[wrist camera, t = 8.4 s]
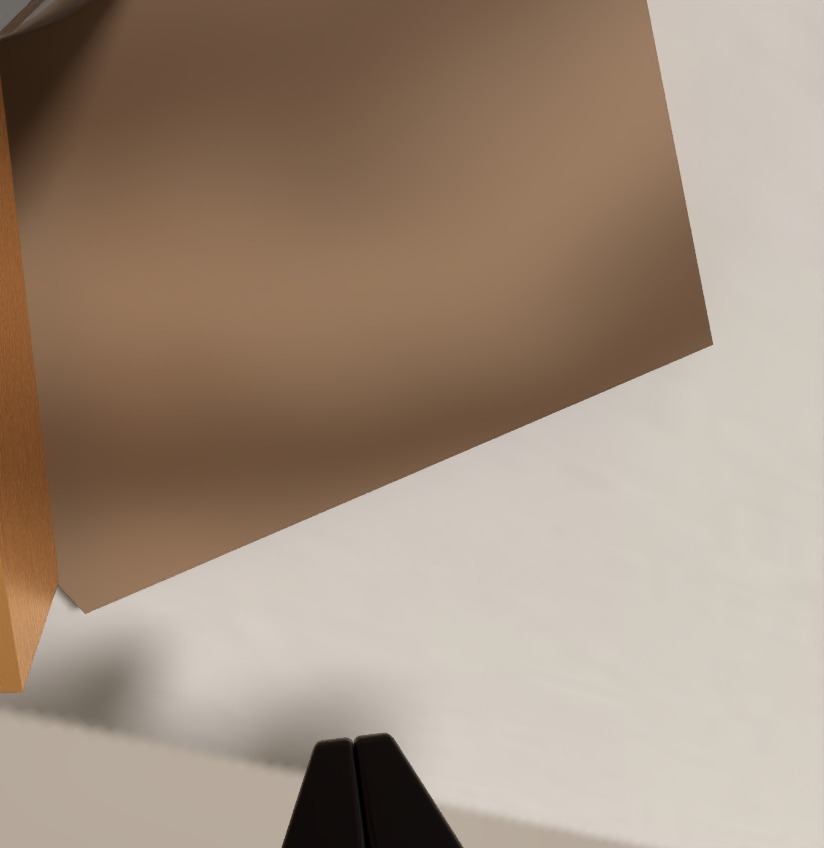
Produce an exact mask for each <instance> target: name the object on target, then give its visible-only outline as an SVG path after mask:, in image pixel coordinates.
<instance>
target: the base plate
mask: <svg viewBox="0 0 824 848" xmlns="http://www.w3.org/2000/svg"><path fill="white" fill-rule="evenodd" d="M0 73H1V81H2V90H3V99H4V107H5V116H6V125H7V133H8V142H9V151H10V159H11V168H12V177H13V185H14V194H15V203H16V211H17V220H18V229H19V237H20V246H21V255H22V263H23V272H24V281H25V289H26V298H27V307H28V315H29V324H30V333H31V341H32V350H33V358H34V367H35V376H36V384H37V393H38V402H39V410H40V419H41V428H42V436H43V445H44V454H45V462H46V471H47V480H48V488H49V497H50V506H51V514H52V523H53V532H54V540H55V549H56V558H57V566H58V575H59V582H58V585H59V586H60V587H61V588H62V589H63V591H64V592H65V593H66V594H67V595H68V596H69V597H70V598H71V599H72V600H73V601H74V602H75V603H76V605H77V606H78V607H79V608H80V609H81V610H82V611H83V612H84V613H85V614H86V613H89V612H91V611H93V610H96V609H98V608H100V607H103V606H105V605H107V604H110V603H112V602H114V601H117V600H119V599H121V598H124V597H126V596H128V595H131V594H133V593H135V592H138V591H140V590H142V589H145V588H147V587H149V586H152V585H154V584H156V583H159V582H161V581H163V580H166V579H168V578H170V577H173V576H175V575H177V574H180V573H182V572H184V571H187V570H189V569H191V568H194V567H196V566H198V565H201V564H203V563H205V562H208V561H210V560H212V559H215V558H217V557H219V556H222V555H224V554H226V553H229V552H231V551H233V550H236V549H238V548H240V547H242V546H245V545H247V544H249V543H252V542H254V541H256V540H259V539H261V538H263V537H266V536H268V535H270V534H273V533H275V532H277V531H280V530H282V529H284V528H287V527H289V526H291V525H294V524H296V523H298V522H301V521H303V520H305V519H308V518H310V517H312V516H315V515H317V514H319V513H322V512H324V511H326V510H329V509H331V508H333V507H336V506H338V505H340V504H343V503H345V502H347V501H350V500H352V499H354V498H357V497H359V496H361V495H364V494H366V493H368V492H371V491H373V490H375V489H378V488H380V487H382V486H385V485H387V484H389V483H392V482H394V481H396V480H399V479H401V478H403V477H406V476H408V475H410V474H413V473H415V472H417V471H420V470H422V469H424V468H427V467H429V466H431V465H434V464H436V463H438V462H441V461H443V460H445V459H448V458H450V457H452V456H455V455H457V454H459V453H462V452H464V451H466V450H469V449H471V448H473V447H476V446H478V445H480V444H483V443H485V442H487V441H490V440H492V439H494V438H497V437H499V436H501V435H504V434H506V433H508V432H511V431H513V430H515V429H518V428H520V427H522V426H525V425H527V424H529V423H532V422H534V421H536V420H539V419H541V418H543V417H545V416H548V415H550V414H552V413H555V412H557V411H559V410H562V409H564V408H566V407H569V406H571V405H573V404H576V403H578V402H580V401H583V400H585V399H587V398H590V397H592V396H594V395H597V394H599V393H601V392H604V391H606V390H608V389H611V388H613V387H615V386H618V385H620V384H622V383H625V382H627V381H629V380H632V379H634V378H636V377H639V376H641V375H643V374H646V373H648V372H650V371H653V370H655V369H657V368H660V367H662V366H664V365H667V364H669V363H671V362H674V361H676V360H678V359H681V358H683V357H685V356H688V355H690V354H692V353H695V352H697V351H699V350H702V349H704V348H706V347H709V346H711V345H713V342H712V336H711V331H710V326H709V321H708V316H707V311H706V305H705V300H704V295H703V290H702V285H701V280H700V274H699V269H698V264H697V259H696V254H695V249H694V243H693V238H692V233H691V228H690V223H689V218H688V212H687V207H686V202H685V197H684V192H683V187H682V181H681V176H680V171H679V166H678V161H677V155H676V150H675V145H674V140H673V135H672V130H671V124H670V119H669V114H668V109H667V104H666V99H665V93H664V88H663V83H662V78H661V73H660V68H659V62H658V57H657V52H656V47H655V42H654V37H653V31H652V26H651V21H650V16H649V11H648V6H647V0H94V1H92V2H91V3H89V4H87V5H86V6H84V7H82V8H80V9H79V10H77V11H75V12H74V13H72V14H70V15H69V16H67V17H65V18H64V19H61V20H58V21H56V22H53V23H51V24H48V25H46V26H43V27H41V28H38V29H36V30H33V31H30V32H27V33H23V34H20V35H17V36H14V37H10V38H7V39H4V40H1V41H0Z"/></svg>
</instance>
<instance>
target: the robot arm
mask: <svg viewBox="0 0 824 848" xmlns="http://www.w3.org/2000/svg"><path fill="white" fill-rule="evenodd" d="M282 848H463V846H462V844H461V843H460V842H459V840H458V838H457V837H456V835H455V834H454V832H453V831H452V829H451V827H450V826H449V824H448V823H447V821H446V820H445V818H444V816H443V815H442V813H441V812H440V810H439V808H438V807H437V805H436V804H435V802H434V801H433V799H432V797H431V796H430V794H429V793H428V791H427V790H426V788H425V787H424V785H423V783H422V782H421V780H420V779H419V777H418V776H417V774H416V772H415V771H414V769H413V768H412V766H411V765H410V763H409V761H408V760H407V758H406V757H405V755H404V754H403V752H402V750H401V749H400V747H399V746H398V744H397V743H396V741H395V740H394V738H393V737H392V736H391V735H390V734H388V733H377V734H369V735H361V736H358V737H356V738H355V740H354V743H353V742H352V740H351V739H349V738H346V737H345V738H337V739H329V740H321V741H319V742H317V743H316V745H315V746H314V748H313V751H312V754H311V757H310V760H309V763H308V766H307V770H306V773H305V776H304V779H303V782H302V785H301V789H300V792H299V795H298V798H297V801H296V804H295V807H294V810H293V814H292V817H291V820H290V823H289V826H288V829H287V833H286V835H285V839H284V842H283V845H282Z"/></svg>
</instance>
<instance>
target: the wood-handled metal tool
mask: <svg viewBox="0 0 824 848" xmlns="http://www.w3.org/2000/svg"><path fill="white" fill-rule="evenodd" d="M92 1H94V0H0V41H1V40H4V39H7V38H10V37H14V36H17V35H20V34H23V33H27V32H30V31H33V30H36V29H38V28H41V27H43V26H46V25H48V24H51V23H53V22H56V21H58V20H61V19H64V18H65V17H67V16H69V15H70V14H72V13H74V12H75V11H77V10H79V9H80V8H82V7H84V6H86V5H87V4H89V3H91V2H92ZM58 582H59V575H58V566H57V558H56V549H55V540H54V532H53V523H52V514H51V506H50V497H49V488H48V480H47V471H46V462H45V454H44V445H43V436H42V428H41V419H40V410H39V402H38V393H37V384H36V376H35V367H34V358H33V350H32V341H31V333H30V324H29V315H28V307H27V298H26V289H25V281H24V272H23V263H22V255H21V246H20V237H19V229H18V220H17V211H16V203H15V194H14V185H13V177H12V168H11V159H10V151H9V142H8V133H7V125H6V116H5V107H4V99H3V90H2V81H1V73H0V693H14V692H23V689H24V686H25V683H26V680H27V677H28V674H29V671H30V668H31V665H32V662H33V659H34V656H35V652H36V649H37V646H38V643H39V640H40V637H41V634H42V631H43V628H44V625H45V622H46V619H47V616H48V613H49V609H50V606H51V603H52V600H53V597H54V594H55V591H56V588H57V585H58Z"/></svg>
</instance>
